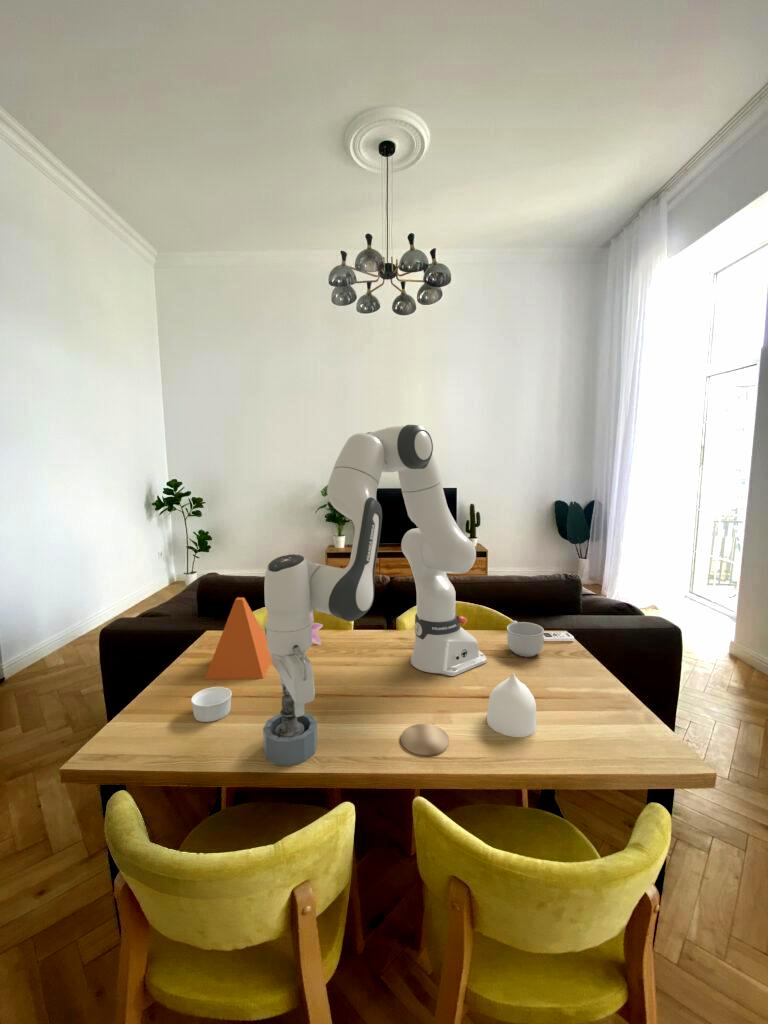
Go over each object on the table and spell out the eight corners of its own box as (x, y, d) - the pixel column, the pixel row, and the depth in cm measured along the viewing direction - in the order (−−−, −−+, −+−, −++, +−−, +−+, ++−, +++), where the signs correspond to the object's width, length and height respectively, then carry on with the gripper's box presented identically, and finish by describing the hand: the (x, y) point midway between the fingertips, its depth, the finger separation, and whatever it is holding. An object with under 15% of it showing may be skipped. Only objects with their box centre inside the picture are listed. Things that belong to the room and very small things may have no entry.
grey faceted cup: (307, 728, 99) (307, 706, 98) (323, 755, 90) (322, 732, 89) (259, 741, 94) (259, 718, 94) (270, 771, 85) (270, 747, 84)
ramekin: (191, 707, 107) (190, 690, 107) (230, 700, 111) (230, 683, 110) (191, 728, 99) (190, 709, 99) (234, 719, 103) (233, 701, 102)
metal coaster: (432, 722, 101) (432, 719, 101) (458, 747, 92) (458, 744, 92) (392, 733, 97) (392, 731, 97) (416, 761, 88) (416, 758, 88)
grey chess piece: (290, 758, 88) (289, 700, 87) (269, 748, 91) (267, 692, 90) (310, 742, 93) (309, 687, 92) (289, 733, 96) (288, 680, 95)
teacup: (548, 660, 133) (549, 634, 132) (511, 660, 133) (512, 634, 132) (533, 641, 146) (534, 618, 145) (499, 641, 146) (500, 617, 146)
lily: (279, 651, 141) (287, 630, 137) (285, 624, 151) (292, 604, 147) (316, 659, 144) (325, 639, 139) (319, 633, 154) (327, 613, 149)
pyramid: (275, 654, 137) (273, 590, 135) (263, 679, 121) (261, 607, 119) (223, 654, 137) (220, 590, 134) (204, 679, 121) (201, 607, 119)
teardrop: (531, 743, 94) (534, 689, 92) (480, 728, 99) (481, 676, 98) (541, 717, 103) (543, 667, 102) (493, 704, 109) (495, 657, 107)
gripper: (321, 654, 81) (324, 725, 83) (291, 618, 100) (294, 677, 101) (287, 662, 79) (290, 735, 80) (262, 623, 97) (265, 684, 99)
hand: (292, 702), depth 91 cm, fingers open, 8 cm apart
